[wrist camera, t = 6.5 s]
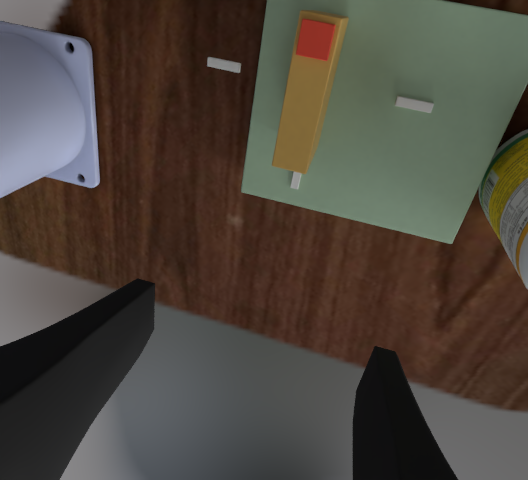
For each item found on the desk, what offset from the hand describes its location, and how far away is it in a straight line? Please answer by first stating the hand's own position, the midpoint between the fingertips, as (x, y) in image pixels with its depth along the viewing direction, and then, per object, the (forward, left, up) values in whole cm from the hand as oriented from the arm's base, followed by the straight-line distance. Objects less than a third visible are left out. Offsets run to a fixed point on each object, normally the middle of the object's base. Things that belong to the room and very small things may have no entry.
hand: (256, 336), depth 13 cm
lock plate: (+1, +6, -10) cm, 12 cm away
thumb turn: (-1, +7, -8) cm, 10 cm away
